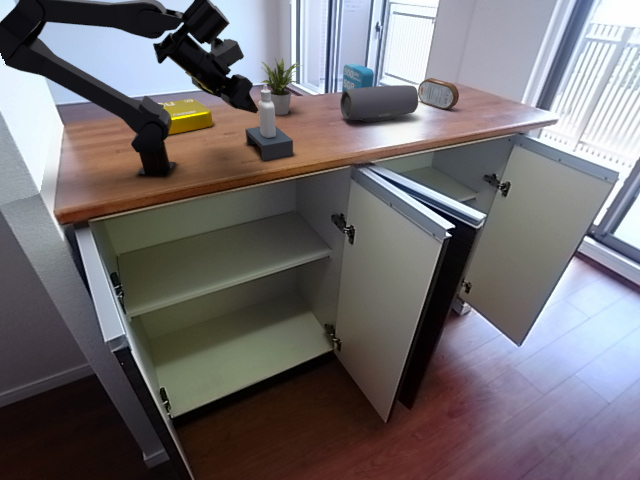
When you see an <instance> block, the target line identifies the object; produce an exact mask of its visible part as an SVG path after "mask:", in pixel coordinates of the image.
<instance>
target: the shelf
mask: <svg viewBox="0 0 640 480" xmlns="http://www.w3.org/2000/svg"><path fill="white" fill-rule="evenodd" d="M275 130H276V136H275V137H272V138H266V137H264V136H262V135H261V133H260V126H255V127H254V126H253V127H249V128H245V140H246V144H247V146H250V145H257V146H258V148H260V151H261V160H262V161H264V162H266V161H270V160H275V159H280V158H286V157H291V156H294V140H293V139H292V138H291V137H289V136H288V135H287V134H286V133H285V132H283V131H282V130H281V129H280V128H279V127H277V125H275Z"/></svg>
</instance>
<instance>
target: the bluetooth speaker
mask: <svg viewBox="0 0 640 480" xmlns="http://www.w3.org/2000/svg"><path fill="white" fill-rule="evenodd" d="M339 104H340V111H341V115H342V117H343V118H344V119H345V120H361V121H362V122H364V123H373V122H383V121H391V120H394V117H399V116H404V115H410V114H414V113H415V112H416V110H417V109H418V106H419V96H418V89H417V87H416V86H414V85H408V84H402V85H401V84H400V85H399V84H398V85H397V84H395V85H376V86H373V87H364V88H356V89H349V90H345V91H343V94H342V93H341V97H340V102H339Z"/></svg>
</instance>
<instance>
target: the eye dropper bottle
mask: <svg viewBox="0 0 640 480" xmlns="http://www.w3.org/2000/svg"><path fill="white" fill-rule="evenodd" d="M257 107H258V121H259V127H260V133H261V135H262V136H264V137H266V138H272V137H275V136H276V130H275V126H276V114H275V108H274V104H273V102H272V101H271V89H269V88H268V84H263V87H262V89H261V90H260V100H259V101H258V106H257Z"/></svg>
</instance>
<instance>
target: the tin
mask: <svg viewBox="0 0 640 480" xmlns="http://www.w3.org/2000/svg"><path fill="white" fill-rule="evenodd" d="M417 92H418V99H419V100H420V102H422V103H423V104H425V105H428V106H430V107H435V108H437V109H441V110H449V109H451V108H454V107H455V106H456V105H457V104H458V102H459V98H460V92H459V89H458V88H457V86H456V85H455V84H453V83H452V82H448V81H446V80H445V81H444V80H441V79H437V78H435V77H434V78H433V77H429V78H426V79H424V80H422V81H421V82H420V84H419V85H418V89H417Z"/></svg>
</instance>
